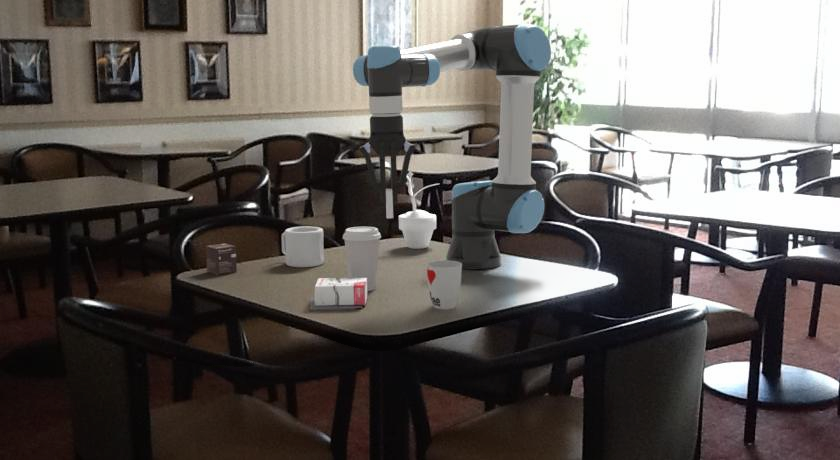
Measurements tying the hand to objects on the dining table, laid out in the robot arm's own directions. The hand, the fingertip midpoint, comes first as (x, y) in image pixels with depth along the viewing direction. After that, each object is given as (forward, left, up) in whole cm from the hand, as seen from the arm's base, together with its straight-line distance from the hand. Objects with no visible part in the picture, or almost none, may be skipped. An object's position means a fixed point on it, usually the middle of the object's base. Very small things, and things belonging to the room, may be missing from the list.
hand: (389, 217), depth 223 cm
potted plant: (-12, -69, -20) cm, 72 cm away
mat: (+13, 0, -20) cm, 24 cm away
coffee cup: (+6, -15, -20) cm, 26 cm away
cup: (-12, +6, -20) cm, 24 cm away
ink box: (+6, 0, -17) cm, 18 cm away
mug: (+23, -49, -20) cm, 58 cm away
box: (+44, -40, -20) cm, 63 cm away
